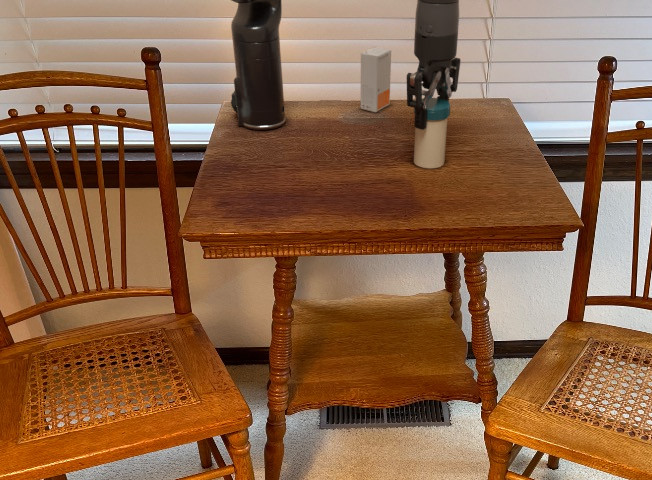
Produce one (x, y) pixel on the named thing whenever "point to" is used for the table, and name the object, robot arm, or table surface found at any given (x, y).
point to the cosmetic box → (375, 78)
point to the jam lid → (437, 109)
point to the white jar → (431, 144)
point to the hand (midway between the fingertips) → (431, 122)
